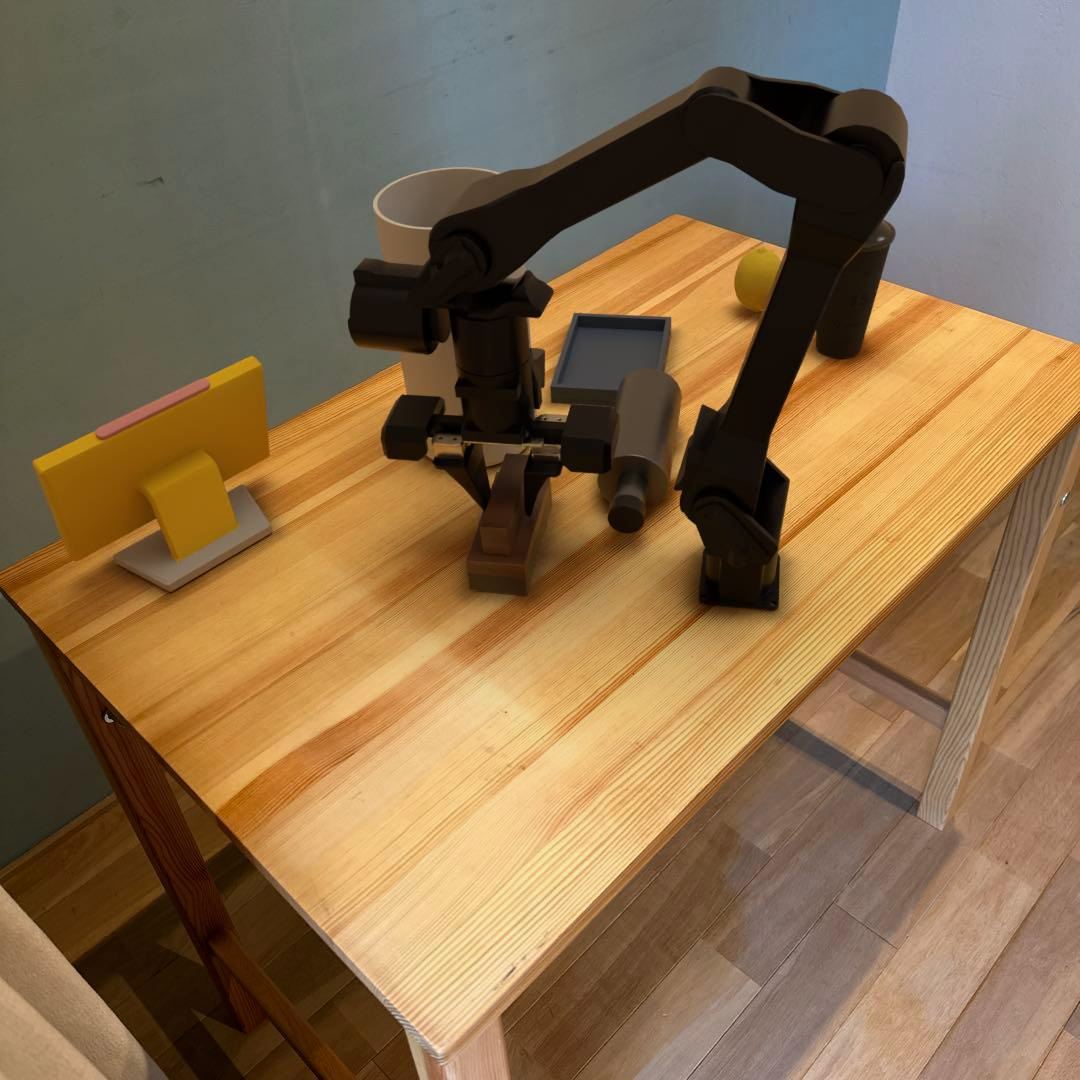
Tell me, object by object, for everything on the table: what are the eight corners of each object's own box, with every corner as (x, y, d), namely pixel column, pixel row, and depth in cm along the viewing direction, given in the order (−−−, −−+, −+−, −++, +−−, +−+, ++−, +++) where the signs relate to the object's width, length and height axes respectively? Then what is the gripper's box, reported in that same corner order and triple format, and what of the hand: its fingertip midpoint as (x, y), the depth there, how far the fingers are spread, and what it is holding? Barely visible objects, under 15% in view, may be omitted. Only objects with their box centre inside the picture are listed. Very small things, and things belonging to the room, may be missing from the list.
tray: (657, 408, 104) (657, 392, 102) (551, 402, 106) (550, 386, 104) (671, 332, 115) (671, 316, 113) (574, 327, 117) (573, 312, 115)
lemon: (728, 321, 116) (733, 257, 110) (736, 298, 119) (741, 234, 114) (777, 326, 114) (784, 261, 109) (783, 302, 118) (790, 238, 113)
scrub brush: (526, 595, 85) (521, 539, 80) (469, 590, 86) (461, 533, 81) (552, 504, 93) (548, 448, 89) (500, 500, 94) (493, 445, 90)
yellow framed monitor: (269, 474, 99) (226, 335, 89) (315, 508, 95) (275, 366, 84) (80, 579, 90) (7, 436, 79) (121, 622, 85) (49, 477, 75)
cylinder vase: (411, 476, 98) (366, 234, 81) (418, 403, 107) (379, 172, 90) (539, 467, 98) (520, 223, 81) (535, 395, 107) (518, 162, 90)
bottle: (680, 423, 101) (682, 369, 97) (661, 550, 88) (663, 494, 84) (617, 419, 103) (617, 366, 98) (589, 544, 89) (587, 488, 85)
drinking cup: (788, 341, 112) (809, 163, 98) (844, 322, 114) (872, 146, 100) (830, 373, 107) (859, 190, 93) (888, 353, 109) (924, 172, 95)
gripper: (627, 307, 80) (628, 461, 91) (405, 298, 84) (430, 448, 94) (608, 385, 72) (611, 544, 83) (363, 371, 76) (396, 526, 86)
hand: (509, 511), depth 87 cm, fingers open, 3 cm apart
